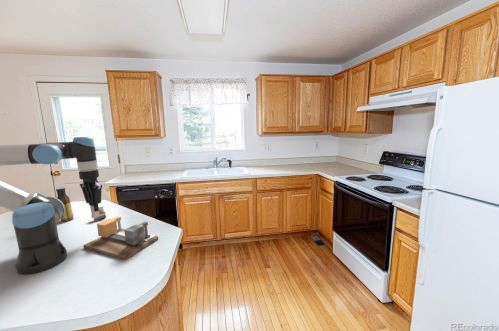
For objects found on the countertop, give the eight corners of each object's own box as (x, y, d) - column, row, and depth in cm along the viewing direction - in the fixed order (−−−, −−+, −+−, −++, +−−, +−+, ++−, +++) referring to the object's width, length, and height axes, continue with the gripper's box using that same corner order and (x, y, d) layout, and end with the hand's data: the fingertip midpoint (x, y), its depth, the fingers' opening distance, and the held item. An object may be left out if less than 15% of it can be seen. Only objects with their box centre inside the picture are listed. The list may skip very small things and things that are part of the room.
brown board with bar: (125, 259, 90) (122, 238, 88) (84, 248, 99) (80, 228, 98) (158, 239, 106) (156, 221, 105) (120, 230, 116) (118, 214, 114)
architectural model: (107, 219, 133) (105, 207, 132) (93, 223, 127) (91, 211, 126) (104, 217, 135) (103, 206, 134) (91, 221, 130) (89, 209, 128)
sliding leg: (105, 238, 102) (104, 225, 101) (98, 236, 104) (96, 223, 103) (124, 229, 111) (122, 217, 110) (117, 228, 113) (115, 216, 112)
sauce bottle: (72, 217, 136) (67, 185, 133) (75, 219, 132) (69, 187, 129) (58, 220, 131) (52, 188, 128) (61, 223, 127) (55, 190, 124)
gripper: (105, 169, 104) (112, 216, 109) (87, 167, 109) (94, 212, 113) (89, 172, 98) (97, 222, 102) (70, 170, 103) (79, 218, 107)
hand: (95, 217), depth 108 cm, fingers closed
